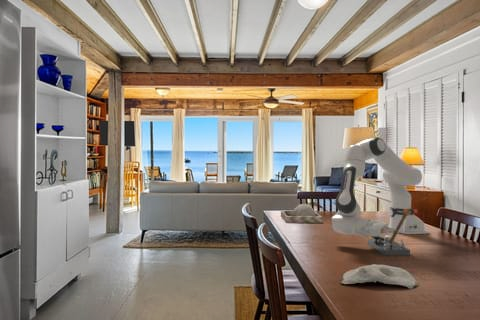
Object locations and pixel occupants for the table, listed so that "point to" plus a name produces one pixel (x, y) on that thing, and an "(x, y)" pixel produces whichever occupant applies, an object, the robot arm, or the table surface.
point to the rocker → (378, 238)
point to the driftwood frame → (300, 218)
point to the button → (387, 238)
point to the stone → (380, 275)
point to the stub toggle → (403, 244)
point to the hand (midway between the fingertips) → (394, 230)
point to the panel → (388, 247)
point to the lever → (406, 213)
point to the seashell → (304, 210)
